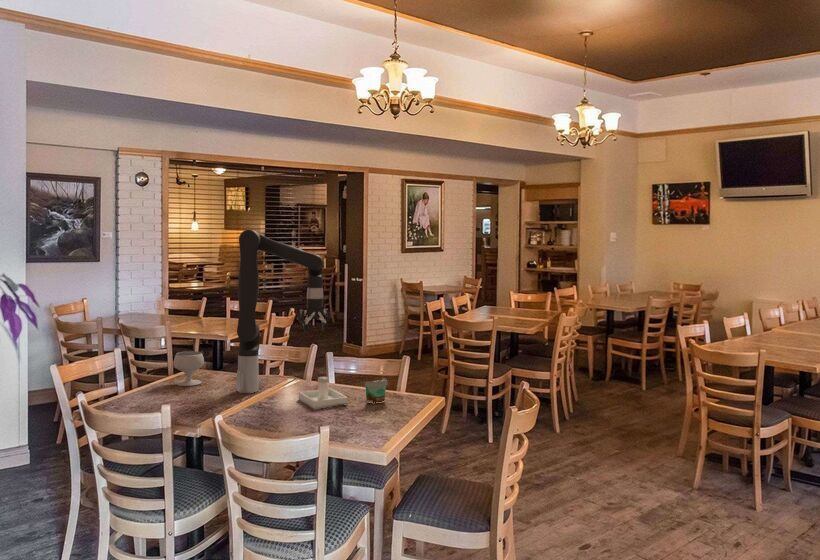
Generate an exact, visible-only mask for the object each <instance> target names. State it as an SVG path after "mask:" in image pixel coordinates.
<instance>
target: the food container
mask: <svg viewBox="0 0 820 560" xmlns="http://www.w3.org/2000/svg"><path fill="white" fill-rule="evenodd" d="M388 385H389V384H388V380H387V378H386V377H383V376H382V377H381V379H377V380H375V379H374V380H372V381H365V383H364V387H365V397H366V399H365V400H366V403H367V402H373V403H374V402H375V403H376V402H382V401H384V400H385V398H386V389H387V386H388ZM384 402H385V401H384Z"/></svg>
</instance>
